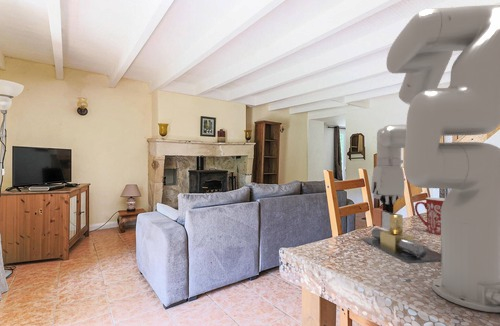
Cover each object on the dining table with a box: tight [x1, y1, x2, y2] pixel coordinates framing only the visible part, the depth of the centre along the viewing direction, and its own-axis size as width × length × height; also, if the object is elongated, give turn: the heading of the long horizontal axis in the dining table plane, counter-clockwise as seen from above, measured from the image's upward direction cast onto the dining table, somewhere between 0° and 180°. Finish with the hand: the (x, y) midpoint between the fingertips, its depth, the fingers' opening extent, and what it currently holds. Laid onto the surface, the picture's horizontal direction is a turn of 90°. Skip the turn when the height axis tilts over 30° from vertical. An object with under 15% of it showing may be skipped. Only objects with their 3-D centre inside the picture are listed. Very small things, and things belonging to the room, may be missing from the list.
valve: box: [361, 227, 441, 264], centre depth 84 cm, size 22×14×5 cm, turn 9°
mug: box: [414, 197, 446, 236], centre depth 105 cm, size 13×9×14 cm
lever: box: [372, 207, 404, 234], centre depth 88 cm, size 14×4×6 cm, turn 3°
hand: (388, 214), depth 93 cm, fingers closed
